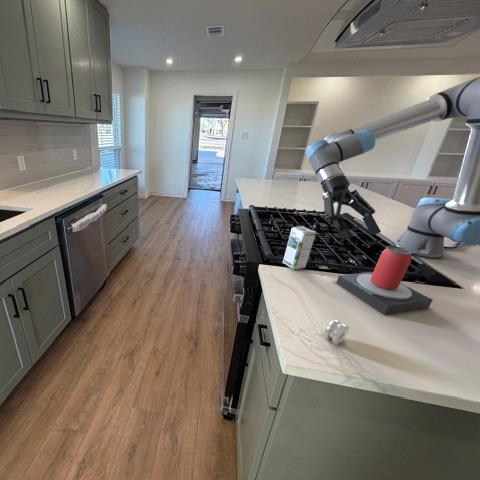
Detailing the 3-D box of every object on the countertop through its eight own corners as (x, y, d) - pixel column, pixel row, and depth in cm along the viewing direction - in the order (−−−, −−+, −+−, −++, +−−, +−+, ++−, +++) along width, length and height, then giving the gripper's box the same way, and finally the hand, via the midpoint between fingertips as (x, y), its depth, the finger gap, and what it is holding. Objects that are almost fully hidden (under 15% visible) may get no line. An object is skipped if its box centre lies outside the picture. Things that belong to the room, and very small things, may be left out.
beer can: (402, 292, 74) (420, 256, 69) (377, 289, 75) (393, 253, 70) (388, 280, 80) (404, 246, 75) (365, 277, 81) (379, 243, 76)
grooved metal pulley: (333, 347, 58) (340, 331, 56) (320, 339, 61) (326, 323, 59) (344, 339, 61) (351, 323, 59) (331, 331, 63) (337, 315, 61)
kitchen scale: (374, 278, 87) (378, 269, 86) (428, 308, 73) (434, 298, 72) (336, 283, 84) (339, 273, 83) (384, 314, 70) (389, 304, 68)
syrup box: (281, 262, 96) (290, 227, 90) (294, 260, 98) (303, 225, 92) (293, 270, 91) (303, 233, 85) (306, 268, 93) (317, 231, 87)
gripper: (348, 185, 96) (376, 236, 89) (297, 188, 88) (323, 244, 81) (368, 172, 89) (399, 227, 82) (314, 175, 81) (344, 235, 74)
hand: (362, 236), depth 81 cm, fingers open, 13 cm apart
